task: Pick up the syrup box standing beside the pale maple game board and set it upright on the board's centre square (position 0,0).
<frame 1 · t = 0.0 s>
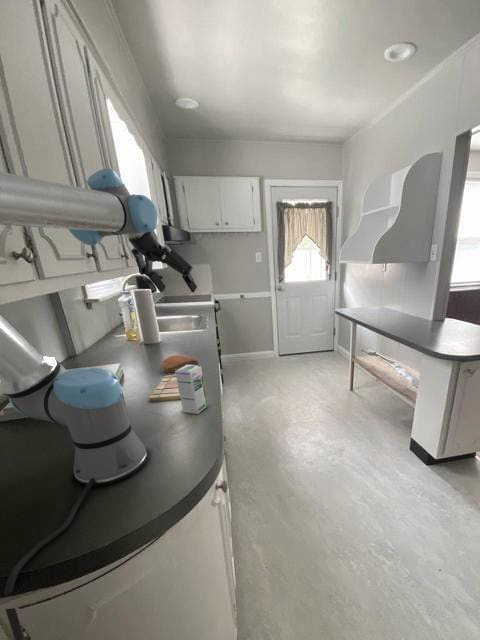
hand: (178, 289, 105), 36 cm above the countertop, tool tilted 35°, fingers open, 13 cm apart
board: (177, 387, 117), on the countertop
syrup box: (195, 409, 99), on the countertop
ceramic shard: (176, 368, 139), on the countertop
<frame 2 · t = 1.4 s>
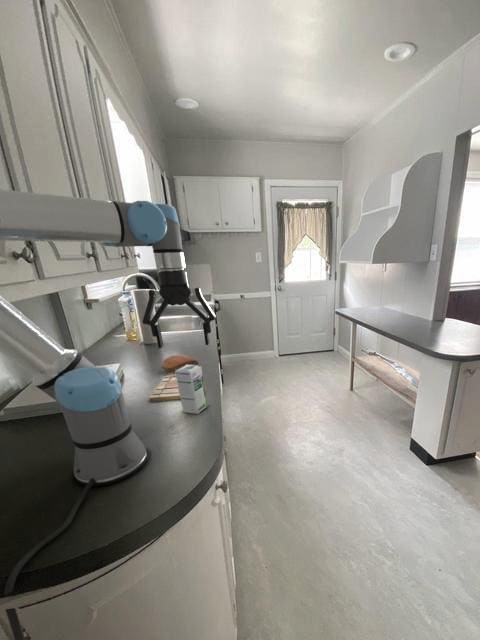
hand: (184, 345, 91), 21 cm above the countertop, tool pointing down, fingers open, 13 cm apart
nothing on the countertop moved.
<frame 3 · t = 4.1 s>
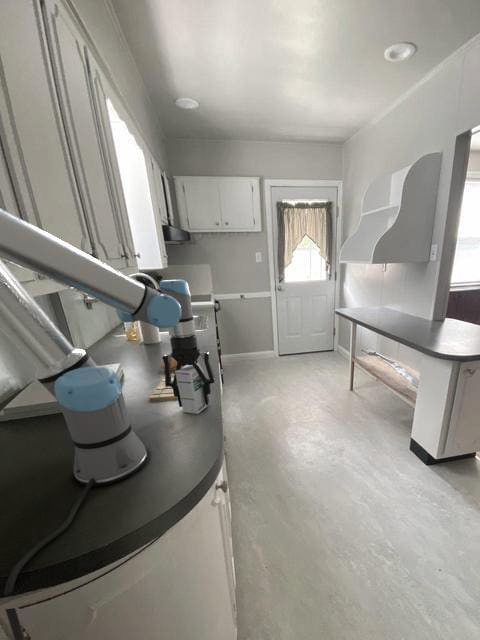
hand: (194, 403, 98), 2 cm above the countertop, tool pointing down, fingers closed on syrup box, 7 cm apart
syrup box: (195, 409, 99), on the countertop, touching gripper
everything else where it was.
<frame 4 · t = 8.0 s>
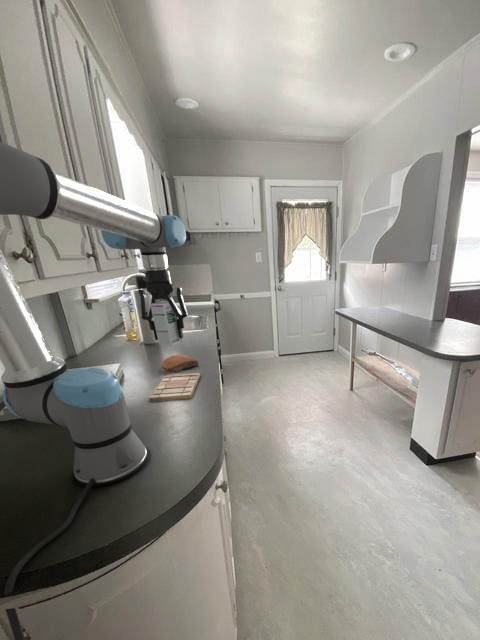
hand: (169, 338, 107), 20 cm above the countertop, tool pointing down, fingers closed on syrup box, 7 cm apart
syrup box: (170, 344, 108), point 18 cm above the countertop, touching gripper
everything else where it was.
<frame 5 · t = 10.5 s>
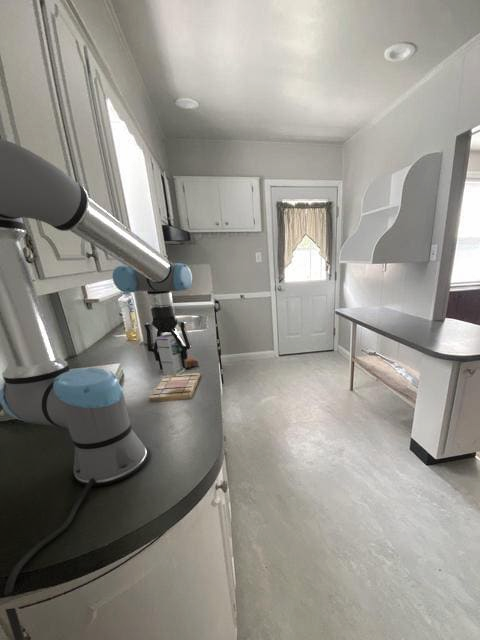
hand: (173, 367, 114), 8 cm above the countertop, tool pointing down, fingers closed on syrup box, 7 cm apart
syrup box: (174, 373, 114), point 6 cm above the countertop, touching gripper
everything else where it was.
when the fingers open (4 cm above the countertop, at t = 12.1 s): syrup box stays where it is, resting on board.
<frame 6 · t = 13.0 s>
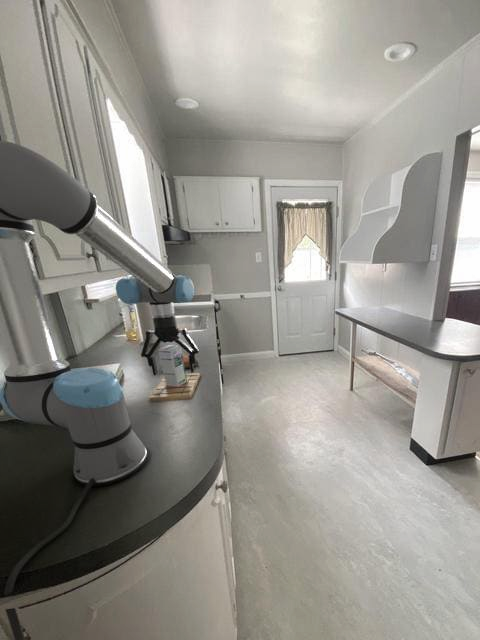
hand: (174, 372, 114), 6 cm above the countertop, tool pointing down, fingers open, 13 cm apart
syrup box: (176, 384, 116), point 2 cm above the countertop, touching board
everything else where it was.
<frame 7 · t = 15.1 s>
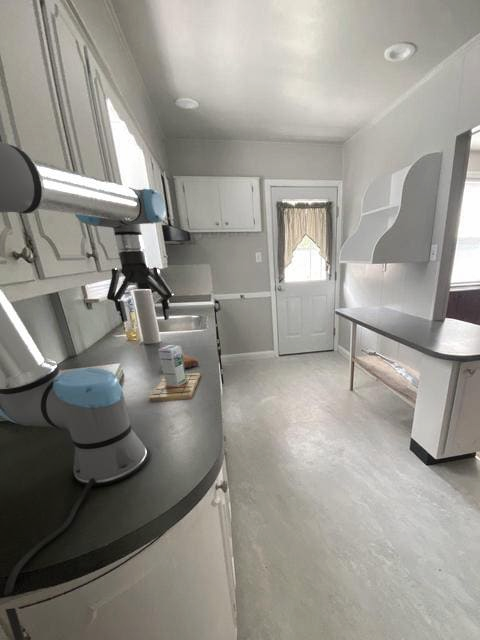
hand: (146, 320, 102), 27 cm above the countertop, tool pointing down, fingers open, 13 cm apart
nothing on the countertop moved.
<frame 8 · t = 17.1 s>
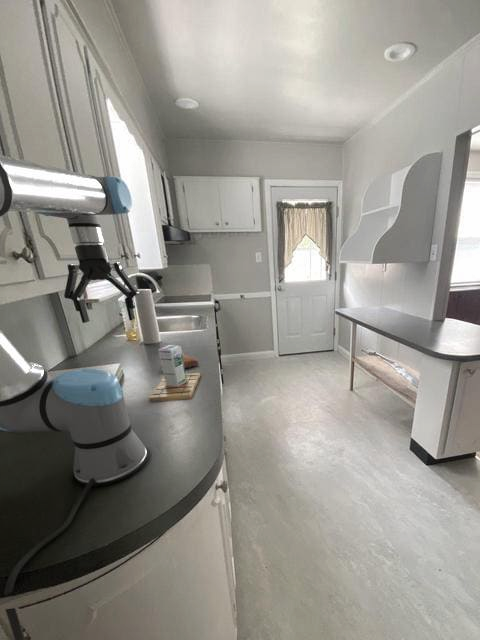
hand: (109, 320, 93), 29 cm above the countertop, tool pointing down, fingers open, 13 cm apart
nothing on the countertop moved.
at the end: syrup box 0.0 cm off-centre on the board, point 1.5 cm above the board's base; syrup box tilted 0°; the gripper is holding nothing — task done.
